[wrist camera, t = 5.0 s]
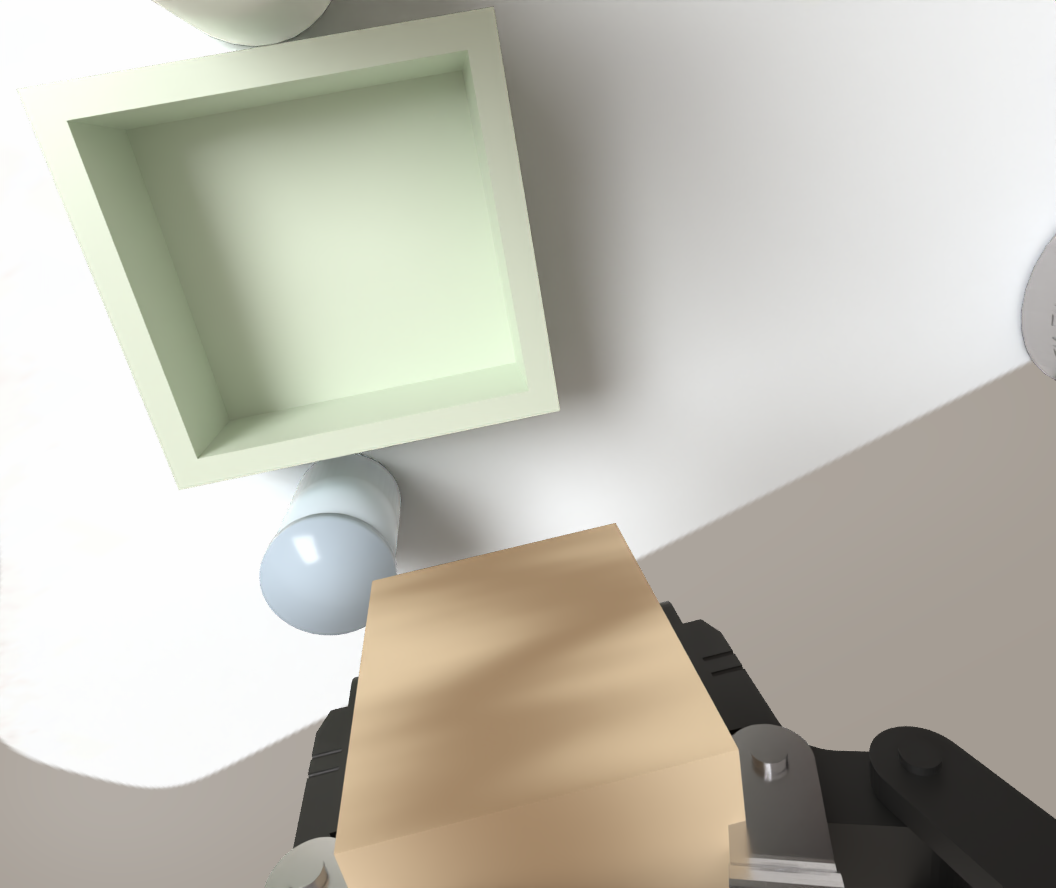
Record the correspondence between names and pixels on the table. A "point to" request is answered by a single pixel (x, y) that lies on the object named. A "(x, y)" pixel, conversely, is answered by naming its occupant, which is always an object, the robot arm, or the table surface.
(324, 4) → the cylindrical container
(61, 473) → the table surface
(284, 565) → the ceramic jar
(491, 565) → the oak block
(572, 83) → the table surface
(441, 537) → the table surface
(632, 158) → the table surface
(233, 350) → the crate
